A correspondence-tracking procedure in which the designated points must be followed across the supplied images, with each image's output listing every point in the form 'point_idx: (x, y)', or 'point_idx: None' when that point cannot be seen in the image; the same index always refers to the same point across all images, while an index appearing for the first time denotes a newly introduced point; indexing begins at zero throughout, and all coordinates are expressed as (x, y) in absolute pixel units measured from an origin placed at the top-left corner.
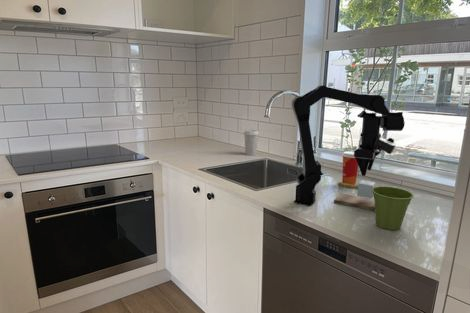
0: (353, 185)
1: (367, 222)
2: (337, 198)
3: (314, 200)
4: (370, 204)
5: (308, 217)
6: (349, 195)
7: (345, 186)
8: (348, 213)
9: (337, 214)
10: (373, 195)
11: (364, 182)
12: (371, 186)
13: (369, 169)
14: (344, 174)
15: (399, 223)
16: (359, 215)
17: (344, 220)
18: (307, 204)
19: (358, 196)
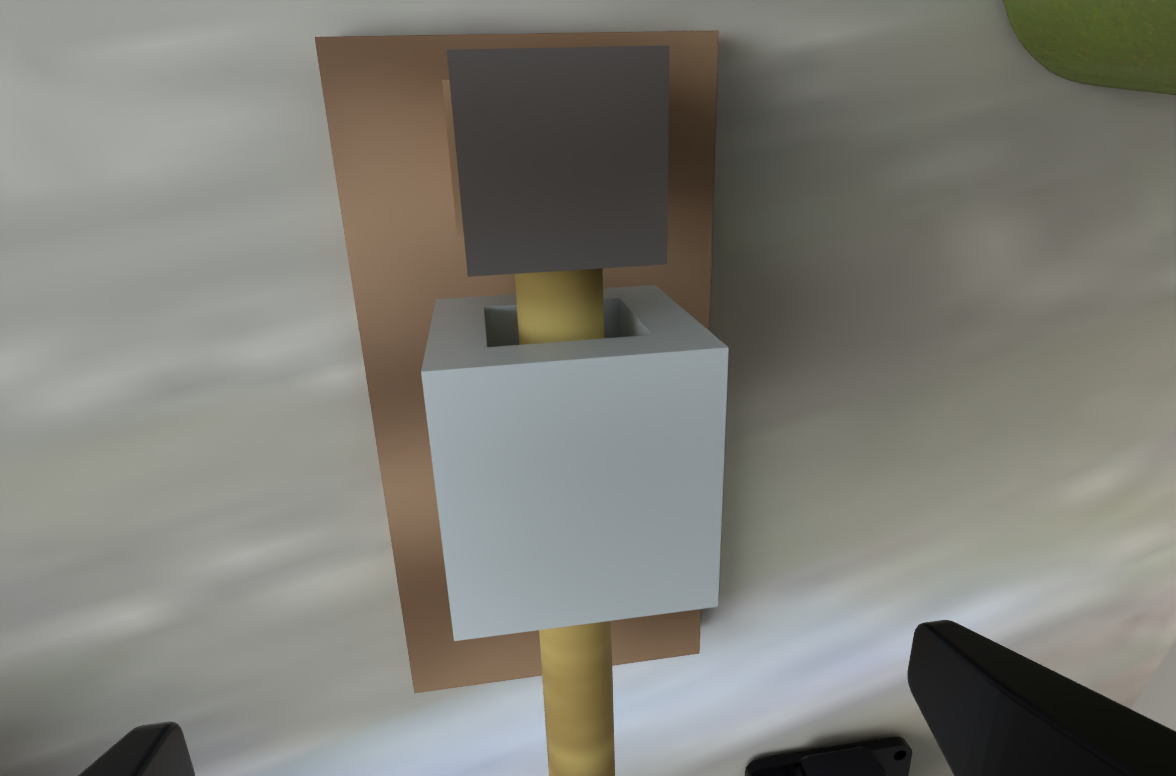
0: (599, 648)
1: (1096, 173)
2: (633, 646)
3: (839, 765)
4: (623, 275)
5: (1147, 631)
6: (425, 591)
7: (612, 716)
8: (923, 411)
9: (994, 484)
10: (509, 296)
11: (584, 547)
12: (717, 369)
13: (177, 765)
14: None
15: None
16: (932, 301)
17: (1118, 381)
18: (909, 761)
19: (386, 496)
